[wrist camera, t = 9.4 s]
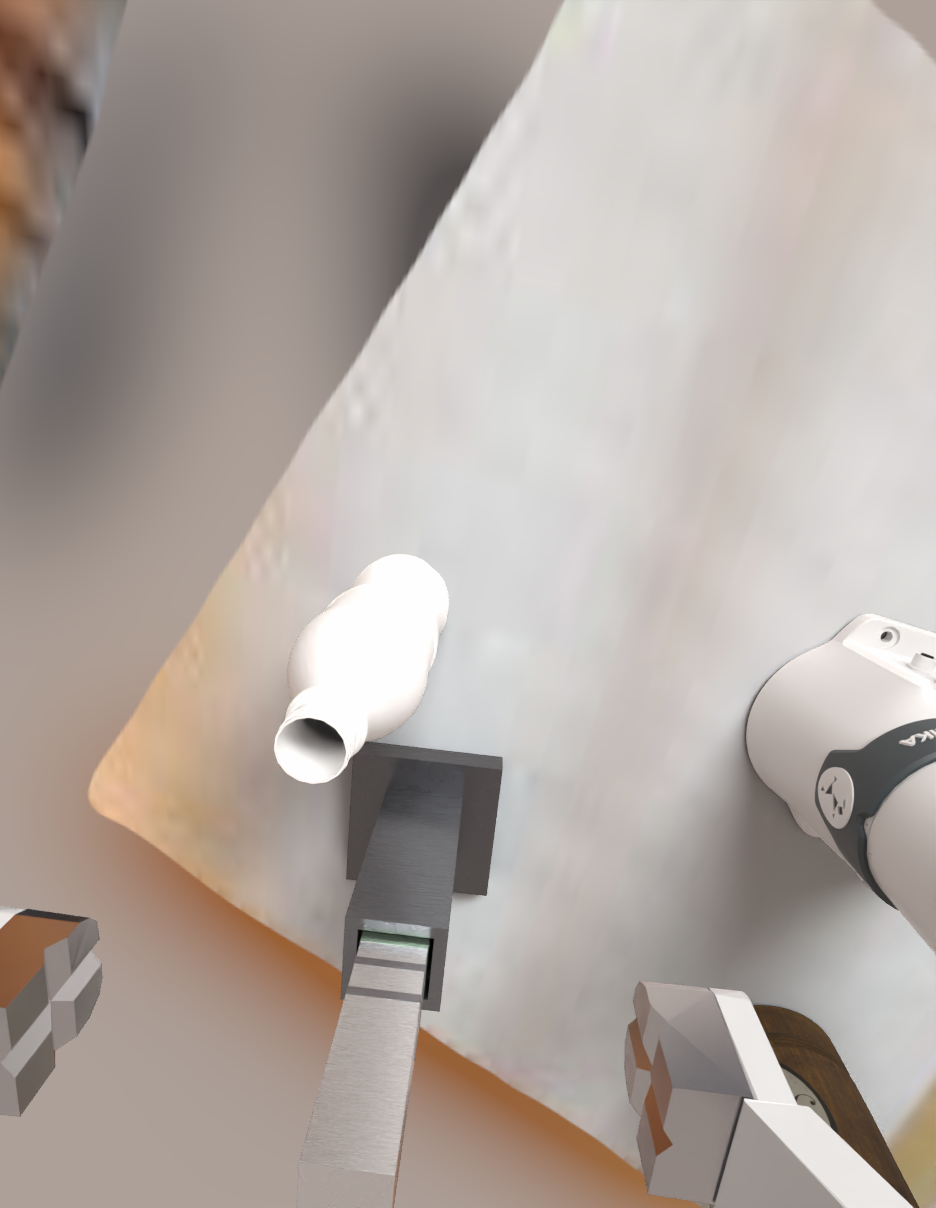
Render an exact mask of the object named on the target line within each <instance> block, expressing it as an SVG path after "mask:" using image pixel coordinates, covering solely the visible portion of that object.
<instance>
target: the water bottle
mask: <svg viewBox="0 0 936 1208" xmlns="http://www.w3.org/2000/svg"><path fill="white" fill-rule="evenodd" d="M448 611H449V596H448V590H447V588H446V585H445V582H444V581H443V579H442V577H441V575H440V574H439V573H437V572H436V571H435V570H434V569H433V568H431V567H430V566H429V565H428V564H427V563H426V562H425V561H424V560H422V559H420V558H417V557H414V556H411V555H404V554H400V555H390V556H385V557H383V558H380V559H378V560H376V561H375V562H373V563H371V564H370V565H369V566H368V567H366V568H365V569H364V570H363V571H362V572H361V573H360V574H359V575H358V577H357V578H356V579H355V581H354V583H353V584H352V587H351V589H349V590H347V591H345V592H344V593H342V594H341V595H339V596H338V597H337V598H335V599H334V600H333V601H332V602H331V603H330V604H329V605H328V606H327V608H326V610H325V611H324V612H323V613H321V614H319V615H318V616H317V617H315V618H314V619H313V620H312V621H310V622H309V623H308V625H307V626H306V627H305V628H304V629H303V630H302V632H301V633H300V635H299V636H298V638H297V640H296V642H295V644H294V646H293V648H292V651H291V654H290V659H289V663H288V686H289V692H290V695H291V698H292V701H291V703H290V704H289V706H288V708H287V711H286V715H285V721H284V722H283V724H282V725H281V726H280V728H279V731H278V733H277V734H276V738H275V744H274V751H275V755H276V758H277V762H278V763H279V764H280V766H281V767H282V768H283V770H284V771H285V772H286V773H287V774H289V775H290V776H292V777H293V778H295V779H296V780H298V781H302V782H306V783H311V784H316V783H324V782H328V781H329V780H331V779H333V778H335V777H336V776H338V775H339V774H340V773H341V772H342V771H343V770H344V769H345V767H346V766H347V764H348V761H349V759H350V758H351V757H352V756H354V755H355V754H356V753H357V752H358V751H359V750H360V749H361V748H362V746H363V744H364V742H368V741H372V740H375V739H379V738H381V737H383V736H385V735H387V734H389V733H392V732H393V731H395V730H396V729H397V728H399V727H400V726H402V725H403V724H404V723H405V722H406V721H407V720H408V719H409V718H410V717H411V715H412V714H413V713H414V711H415V710H416V708H417V707H418V705H419V703H420V701H421V699H422V697H423V695H424V692H425V689H426V685H427V676H428V672H429V670H430V669H431V667H432V665H433V662H434V659H435V656H436V653H437V648H438V637H439V635H440V634H441V632H442V630H443V628H444V626H445V623H446V620H447V616H448Z"/></svg>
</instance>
